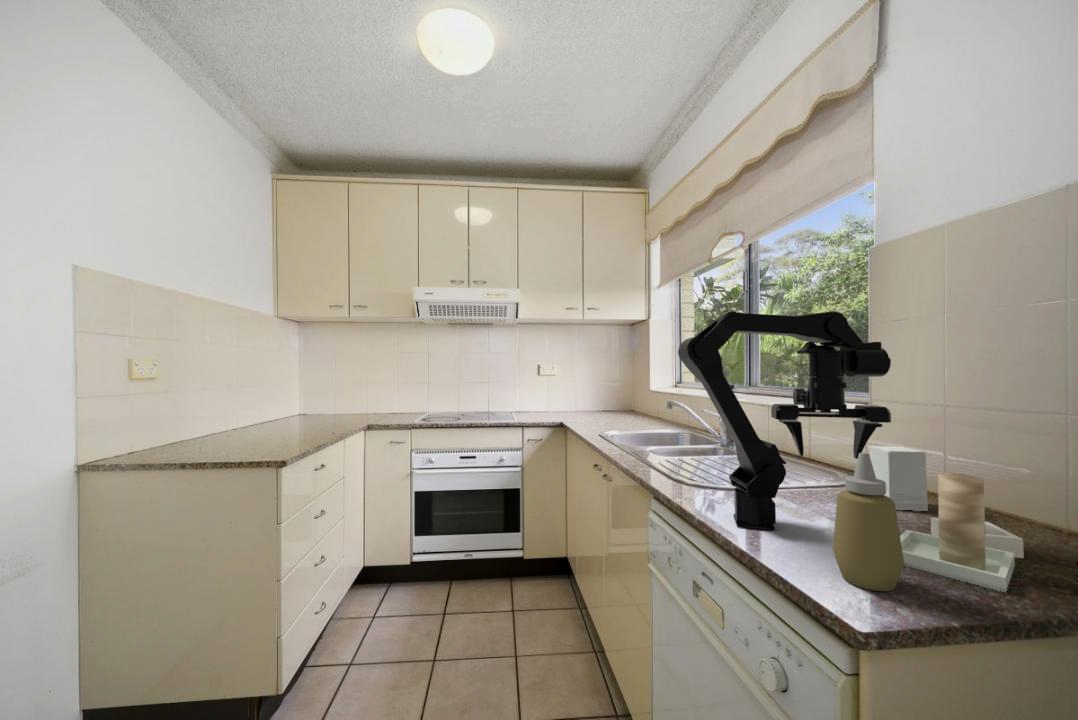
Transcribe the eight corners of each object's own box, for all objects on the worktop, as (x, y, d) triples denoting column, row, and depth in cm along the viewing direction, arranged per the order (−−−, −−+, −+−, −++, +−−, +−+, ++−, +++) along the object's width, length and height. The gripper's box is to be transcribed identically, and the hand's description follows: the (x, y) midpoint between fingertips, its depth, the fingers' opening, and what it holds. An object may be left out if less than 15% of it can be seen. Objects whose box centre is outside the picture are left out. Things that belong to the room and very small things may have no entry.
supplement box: (929, 512, 90) (927, 452, 91) (889, 510, 92) (887, 450, 92) (906, 502, 97) (905, 446, 98) (869, 500, 99) (868, 445, 99)
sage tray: (1006, 593, 57) (1005, 578, 57) (887, 561, 67) (886, 548, 67) (1014, 566, 65) (1014, 553, 65) (907, 541, 75) (906, 529, 75)
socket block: (958, 551, 70) (957, 533, 71) (931, 533, 78) (930, 517, 78) (1023, 558, 68) (1023, 539, 68) (988, 539, 76) (988, 521, 76)
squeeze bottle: (882, 602, 55) (879, 461, 56) (820, 575, 62) (817, 451, 63) (918, 589, 58) (914, 456, 59) (854, 565, 66) (851, 447, 66)
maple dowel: (940, 563, 65) (938, 477, 65) (938, 552, 69) (936, 471, 69) (988, 574, 62) (986, 483, 62) (983, 561, 65) (981, 476, 66)
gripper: (866, 376, 89) (868, 452, 88) (765, 376, 95) (767, 447, 94) (891, 377, 78) (893, 463, 78) (775, 377, 84) (777, 457, 84)
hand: (828, 457), depth 84 cm, fingers open, 9 cm apart
